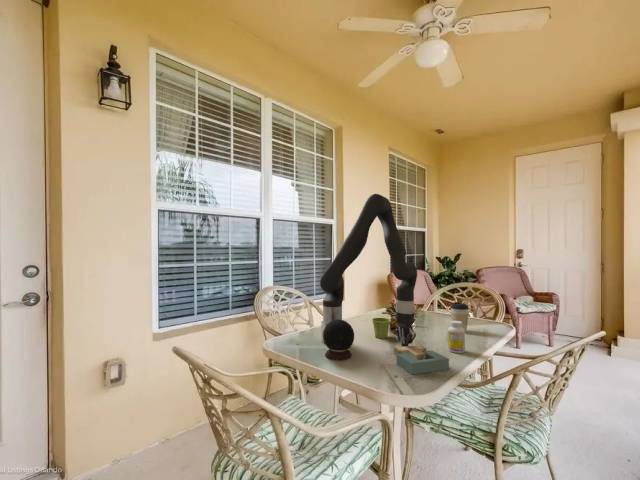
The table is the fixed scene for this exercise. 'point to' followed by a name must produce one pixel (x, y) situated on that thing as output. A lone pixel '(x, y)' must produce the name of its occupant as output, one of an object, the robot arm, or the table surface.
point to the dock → (423, 362)
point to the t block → (410, 351)
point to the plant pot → (381, 327)
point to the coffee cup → (460, 314)
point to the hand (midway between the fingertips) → (404, 352)
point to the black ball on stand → (338, 340)
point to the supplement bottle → (456, 337)
